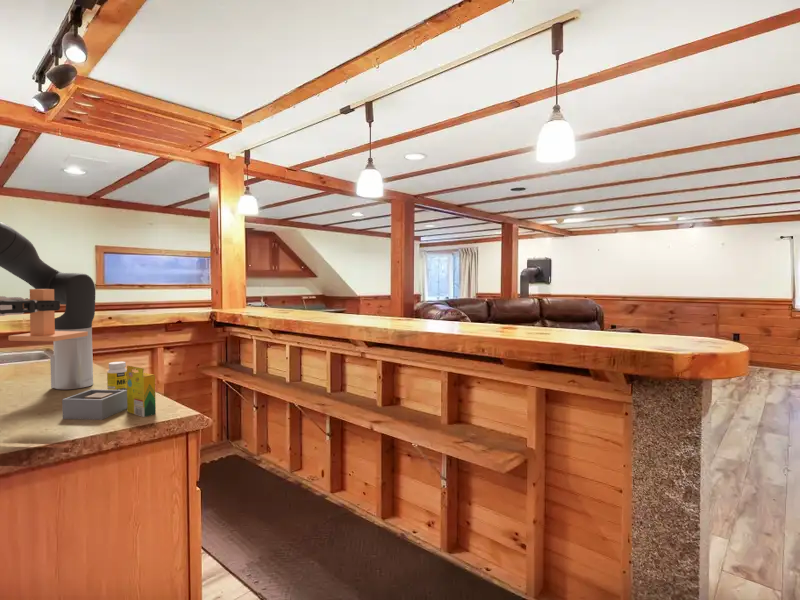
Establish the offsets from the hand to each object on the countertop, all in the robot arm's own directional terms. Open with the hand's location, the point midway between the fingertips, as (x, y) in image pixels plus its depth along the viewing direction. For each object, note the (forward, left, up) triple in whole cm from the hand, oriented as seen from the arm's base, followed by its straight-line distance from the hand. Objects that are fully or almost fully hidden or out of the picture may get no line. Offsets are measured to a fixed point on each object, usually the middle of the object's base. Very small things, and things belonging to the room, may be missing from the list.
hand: (57, 304), depth 101 cm
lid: (-2, 0, -7) cm, 8 cm away
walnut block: (+6, +4, -25) cm, 26 cm away
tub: (+6, +3, -26) cm, 27 cm away
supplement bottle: (-3, +24, -26) cm, 36 cm away
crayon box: (+16, +4, -26) cm, 31 cm away
